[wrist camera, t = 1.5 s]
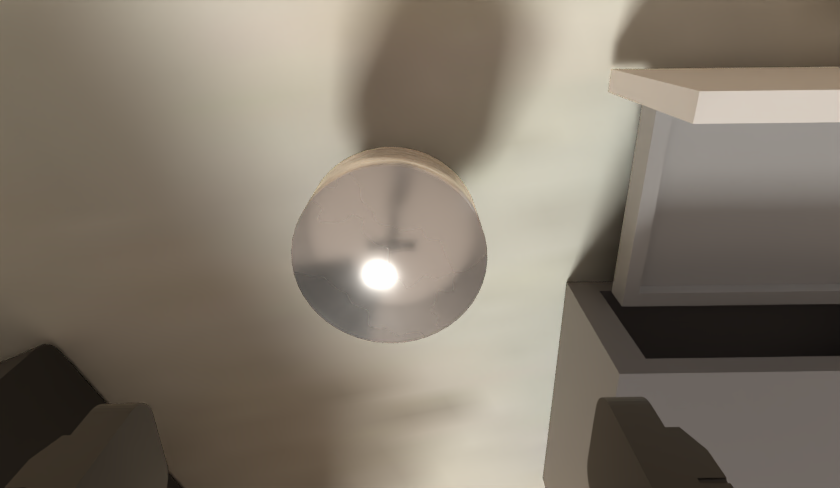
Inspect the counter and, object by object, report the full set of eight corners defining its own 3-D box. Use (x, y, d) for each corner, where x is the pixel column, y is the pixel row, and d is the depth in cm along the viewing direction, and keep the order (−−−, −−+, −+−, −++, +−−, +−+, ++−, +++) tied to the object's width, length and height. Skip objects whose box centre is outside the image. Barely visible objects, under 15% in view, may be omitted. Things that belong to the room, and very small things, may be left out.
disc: (298, 147, 17) (280, 167, 14) (481, 145, 17) (491, 164, 14) (314, 306, 19) (301, 344, 17) (475, 304, 19) (483, 341, 17)
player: (566, 282, 23) (619, 373, 17) (878, 278, 23) (1040, 367, 17) (542, 478, 28) (577, 602, 22) (800, 474, 28) (904, 596, 22)
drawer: (611, 69, 18) (699, 91, 13) (976, 65, 18) (1228, 85, 13) (581, 288, 22) (639, 383, 16) (886, 285, 22) (1050, 377, 16)
